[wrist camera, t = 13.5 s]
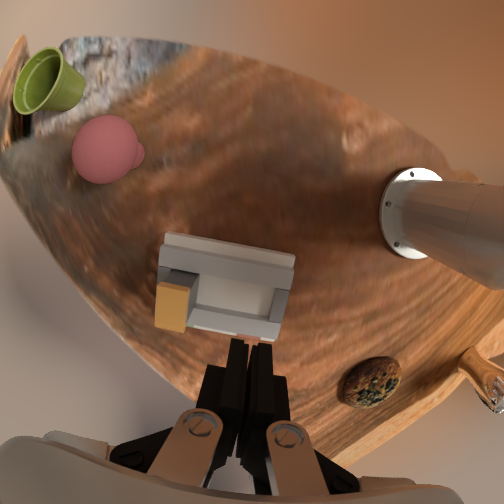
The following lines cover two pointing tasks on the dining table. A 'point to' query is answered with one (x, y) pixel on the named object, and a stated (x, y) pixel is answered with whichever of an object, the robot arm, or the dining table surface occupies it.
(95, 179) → the light bulb
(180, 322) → the breaker handle
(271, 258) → the switch panel
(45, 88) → the plant pot
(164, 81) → the dining table surface
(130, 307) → the dining table surface
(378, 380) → the bread roll
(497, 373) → the beer glass
